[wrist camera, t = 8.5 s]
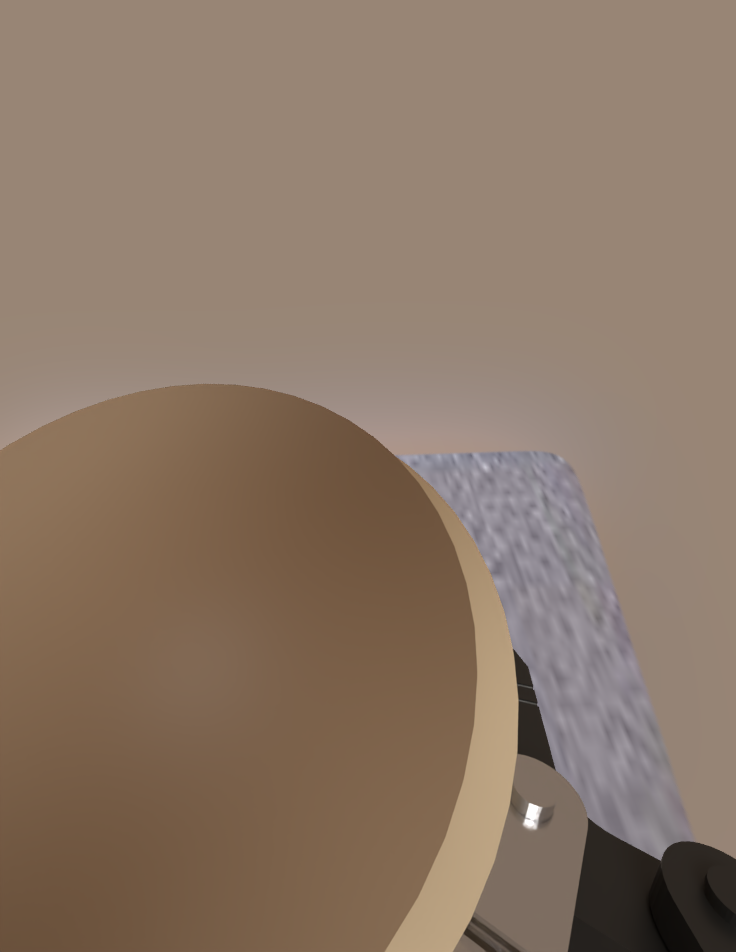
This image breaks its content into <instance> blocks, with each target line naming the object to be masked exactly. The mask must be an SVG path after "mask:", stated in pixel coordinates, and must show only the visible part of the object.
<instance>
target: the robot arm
mask: <svg viewBox="0 0 736 952" xmlns="http://www.w3.org/2000/svg"><path fill="white" fill-rule="evenodd" d="M513 653H514V661H515V671H516V681H517V691H518V745H517V757H516V764H515V771H514V778H513V785H512V792H511V799H510V806H509V809H508V813H507V817H506V820H505V824H504V828H503V832H502V835H501V839H500V843H499V847H498V850H497V854H496V858H495V861H494V864H493V866H492V869H491V871H490V874H489V876H488V879H487V881H486V884H485V886H484V889H483V891H482V893H481V896H480V898H479V901H478V903H477V906H476V908H475V911H474V913H473V916H472V918H471V920H470V922H469V924H468V925H467V927H466V929H465V931H464V933H463V934H462V936H461V938H460V940H459V942H458V943H457V945H456V947H455V949H454V950H453V952H736V859H734V858H733V857H731V856H729V855H727V854H725V853H724V852H722V851H720V850H717V849H715V848H712V847H710V846H707V845H704V844H700V843H696V842H678V843H674V844H672V845H671V846H669V847H668V848H667V849H666V851H665V852H664V854H663V857H662V859H661V861H660V860H658V859H656V858H654V857H652V856H650V855H649V854H647V853H645V852H643V851H641V850H639V849H637V848H635V847H634V846H632V845H630V844H628V843H626V842H624V841H622V840H620V839H619V838H617V837H615V836H613V835H611V834H610V833H608V832H606V831H605V830H603V829H602V828H601V827H599V826H598V825H596V824H595V823H594V822H592V821H591V820H590V819H589V818H588V817H587V812H586V810H585V807H584V804H583V802H582V800H581V798H580V797H579V795H578V793H577V792H576V791H575V789H574V788H573V787H572V786H571V784H570V783H569V782H568V781H567V780H566V779H565V778H564V777H563V776H562V775H561V774H559V773H558V772H557V771H556V770H555V766H554V762H553V759H552V755H551V751H550V747H549V744H548V740H547V736H546V732H545V729H544V725H543V721H542V717H541V714H540V710H539V707H538V706H537V703H538V702H537V699H536V695H535V691H534V690H533V684H532V680H531V676H530V673H529V669H528V666H527V665H526V664H525V663H524V662H523V660H522V659H521V658H520V657H519V655H518V654H517V653H516V652H515V650H514V649H513Z"/></svg>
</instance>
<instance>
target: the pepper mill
mask: <svg viewBox="0 0 736 952" xmlns="http://www.w3.org/2000/svg"><path fill="white" fill-rule="evenodd" d="M517 745H518V691H517V681H516V671H515V661H514V653H513V648H512V644H511V639H510V635H509V630H508V626H507V621H506V617H505V613H504V610H503V607H502V604H501V601H500V598H499V596H498V593H497V590H496V587H495V585H494V582H493V579H492V576H491V574H490V572H489V570H488V568H487V566H486V564H485V562H484V560H483V558H482V556H481V554H480V552H479V550H478V548H477V546H476V544H475V542H474V540H473V539H472V537H471V536H470V534H469V533H468V531H467V530H466V528H465V527H464V525H463V524H462V523H461V521H460V520H459V518H458V517H457V515H456V514H455V512H454V511H453V510H452V509H451V508H450V506H449V505H448V504H447V503H446V502H445V501H444V500H443V498H442V497H441V496H440V495H439V494H438V493H437V492H436V490H435V489H434V488H433V487H432V486H431V485H430V484H429V483H428V482H426V481H425V480H424V479H423V478H422V477H421V476H420V475H419V474H417V473H416V472H415V471H414V470H413V469H412V468H411V467H410V466H408V465H407V464H405V463H404V462H403V461H401V460H400V459H398V458H397V457H396V456H394V455H393V454H392V453H391V452H390V451H389V450H388V449H387V448H385V447H384V446H383V445H382V444H381V443H380V442H379V441H378V440H376V439H375V438H374V437H373V436H371V435H370V434H368V433H367V432H366V431H364V430H363V429H361V428H359V427H358V426H357V425H355V424H354V423H352V422H351V421H349V420H348V419H346V418H344V417H342V416H340V415H337V414H336V413H334V412H332V411H330V410H328V409H326V408H324V407H322V406H320V405H317V404H314V403H312V402H309V401H306V400H304V399H301V398H298V397H296V396H292V395H288V394H284V393H280V392H276V391H272V390H267V389H263V388H255V387H248V386H240V385H224V384H196V385H182V386H171V387H165V388H159V389H153V390H147V391H141V392H137V393H133V394H129V395H125V396H122V397H117V398H114V399H110V400H107V401H104V402H101V403H98V404H95V405H92V406H89V407H87V408H84V409H81V410H78V411H75V412H73V413H71V414H69V415H66V416H64V417H62V418H60V419H58V420H55V421H53V422H51V423H49V424H47V425H44V426H42V427H40V428H38V429H37V430H35V431H33V432H31V433H29V434H28V435H26V436H24V437H22V438H20V439H18V440H17V441H15V442H13V443H11V444H9V445H8V446H6V447H5V448H3V449H2V450H0V952H453V950H454V949H455V947H456V945H457V943H458V942H459V940H460V938H461V936H462V934H463V933H464V931H465V929H466V927H467V925H468V924H469V922H470V920H471V918H472V916H473V913H474V911H475V908H476V906H477V903H478V901H479V898H480V896H481V893H482V891H483V889H484V886H485V884H486V881H487V879H488V876H489V874H490V871H491V869H492V866H493V864H494V861H495V858H496V854H497V850H498V847H499V843H500V839H501V835H502V832H503V828H504V824H505V820H506V817H507V813H508V809H509V806H510V799H511V792H512V785H513V778H514V771H515V764H516V757H517Z"/></svg>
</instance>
